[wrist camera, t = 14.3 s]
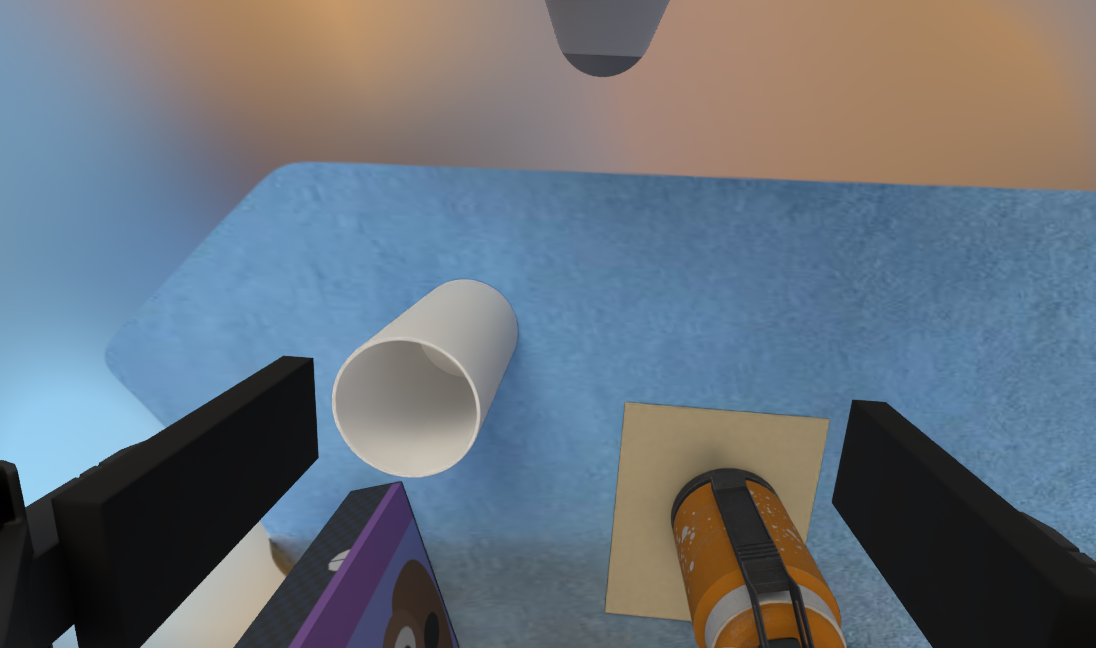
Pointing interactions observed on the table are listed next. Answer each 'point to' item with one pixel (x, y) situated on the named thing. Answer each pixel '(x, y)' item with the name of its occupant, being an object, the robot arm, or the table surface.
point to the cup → (426, 380)
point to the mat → (676, 458)
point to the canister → (749, 567)
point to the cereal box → (359, 584)
